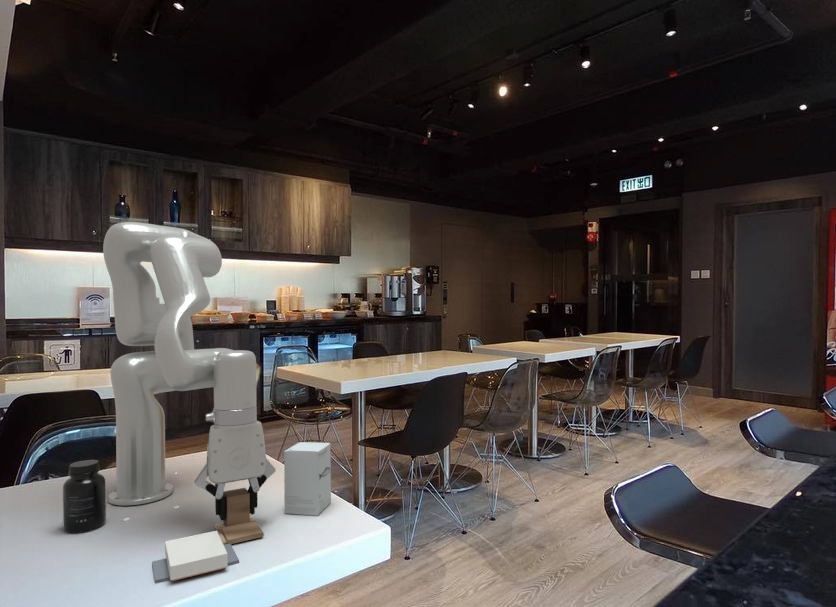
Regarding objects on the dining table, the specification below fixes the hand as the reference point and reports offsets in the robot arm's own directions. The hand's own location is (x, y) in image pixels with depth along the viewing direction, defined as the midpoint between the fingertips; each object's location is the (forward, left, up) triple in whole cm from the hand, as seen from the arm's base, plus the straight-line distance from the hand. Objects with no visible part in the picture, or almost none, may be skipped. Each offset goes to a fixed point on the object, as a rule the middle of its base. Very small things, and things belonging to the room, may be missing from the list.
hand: (236, 514), depth 97 cm
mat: (+11, -9, -2) cm, 14 cm away
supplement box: (-2, +14, -3) cm, 15 cm away
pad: (+2, 0, -2) cm, 3 cm away
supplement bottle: (-16, -25, -3) cm, 29 cm away
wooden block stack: (+3, 0, -2) cm, 3 cm away
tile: (+6, -9, -1) cm, 11 cm away
